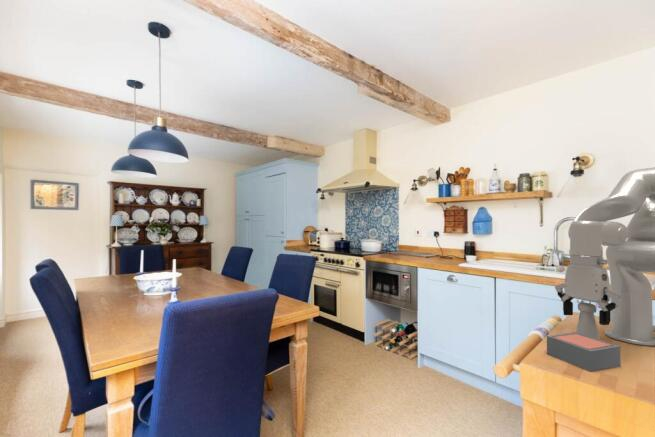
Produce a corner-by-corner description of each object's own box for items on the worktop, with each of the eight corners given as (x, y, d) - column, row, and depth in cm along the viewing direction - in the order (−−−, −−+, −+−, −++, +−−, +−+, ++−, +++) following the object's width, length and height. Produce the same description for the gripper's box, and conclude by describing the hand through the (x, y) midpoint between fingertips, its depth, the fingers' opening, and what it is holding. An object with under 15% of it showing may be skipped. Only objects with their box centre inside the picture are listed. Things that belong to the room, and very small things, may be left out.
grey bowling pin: (605, 352, 87) (604, 306, 87) (582, 350, 88) (582, 305, 88) (592, 344, 93) (591, 301, 93) (570, 343, 94) (570, 300, 94)
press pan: (575, 337, 87) (575, 333, 87) (612, 349, 79) (612, 345, 79) (553, 340, 85) (553, 336, 85) (588, 352, 76) (588, 349, 76)
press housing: (574, 349, 89) (574, 332, 89) (620, 365, 78) (620, 346, 78) (546, 353, 85) (546, 335, 85) (591, 371, 75) (590, 351, 75)
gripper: (630, 265, 84) (629, 328, 83) (564, 259, 100) (564, 311, 100) (611, 265, 82) (611, 329, 81) (548, 258, 98) (547, 312, 97)
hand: (585, 319), depth 90 cm, fingers open, 9 cm apart
